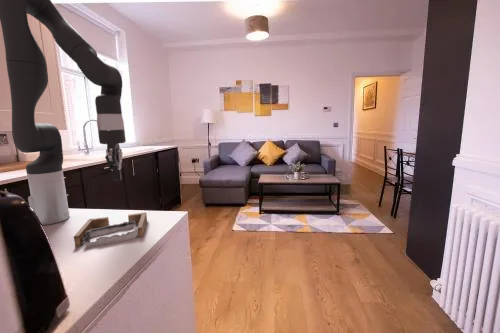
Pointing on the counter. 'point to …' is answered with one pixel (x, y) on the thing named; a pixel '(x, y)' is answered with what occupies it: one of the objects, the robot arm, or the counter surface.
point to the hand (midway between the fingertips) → (117, 180)
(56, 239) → the counter surface
